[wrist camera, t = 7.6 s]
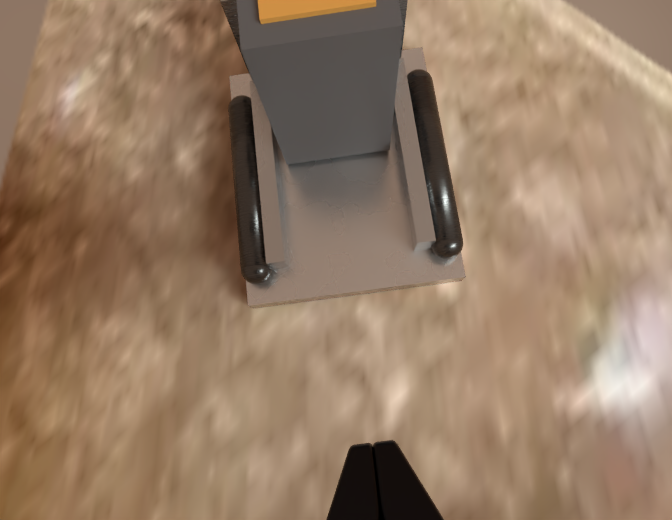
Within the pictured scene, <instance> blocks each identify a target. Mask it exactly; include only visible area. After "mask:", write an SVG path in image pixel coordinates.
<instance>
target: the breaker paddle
mask: <svg viewBox="0 0 672 520" xmlns="http://www.w3.org/2000/svg"><path fill="white" fill-rule="evenodd" d="M236 1H237V12H238V23H239V35H240V46H241V52H242V54H243V57H244V59H245V62H246V64H247V67H248V69H249V72H250V74H251V77H252V79H253V82H254V84H255V87H256V89H257V92H258V94H259V97H260V99H261V102H262V104H263V107H264V109H265V112H266V114H267V117H268V119H269V122H270V124H271V127H272V129H273V132H274V134H275V137H276V139H277V142H278V144H279V147H280V149H281V152H282V154H283V157H284V159H285V162H286V164H294V163H301V162H308V161H315V160H322V159H329V158H337V157H344V156H351V155H358V154H365V153H372V152H379V151H386V150H390V143H391V133H392V124H393V114H394V105H395V95H396V86H397V76H398V67H399V57H400V48H401V38H402V29H403V24H402V18H401V12H400V7H399V1H398V0H236Z"/></svg>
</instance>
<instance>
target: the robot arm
mask: <svg viewBox="0 0 672 520" xmlns="http://www.w3.org/2000/svg"><path fill="white" fill-rule="evenodd" d="M373 450H374V451H373ZM327 520H444V519H443V517H442V516H441V514H440V513H439V511H438V509H437V508H436V506H435V504H434V503H433V501H432V500H431V498H430V496H429V495H428V493H427V492H426V490H425V488H424V487H423V485H422V483H421V482H420V480H419V479H418V477H417V475H416V474H415V472H414V470H413V469H412V467H411V466H410V464H409V462H408V461H407V459H406V457H405V456H404V454H403V453H402V451H401V449H400V448H399V446H398V445H397V443H396V442H395V441H393V440H389V441H381V442H375V443H374V445H373V446H372V444H370V443H365V444H357V445H352V446H351V447H350V449H349V451H348V454H347V457H346V460H345V463H344V466H343V470H342V473H341V476H340V479H339V482H338V485H337V488H336V491H335V495H334V498H333V501H332V504H331V507H330V510H329V513H328V516H327Z"/></svg>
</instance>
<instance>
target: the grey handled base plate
mask: <svg viewBox="0 0 672 520" xmlns="http://www.w3.org/2000/svg"><path fill="white" fill-rule="evenodd" d="M398 1H399V7H400V12H401V18H402V24H403V29H402V38H401V48H400V57H399V67H398V76H397V86H396V95H395V105H394V114H393V124H392V133H391V143H390V150H386V151H379V152H372V153H365V154H358V155H351V156H344V157H337V158H329V159H322V160H315V161H308V162H301V163H294V164H286V162H285V159H284V157H283V154H282V152H281V149H280V147H279V144H278V142H277V139H276V137H275V134H274V132H273V129H272V127H271V124H270V122H269V119H268V117H267V114H266V112H265V109H264V107H263V104H262V102H261V99H260V97H259V94H258V92H257V89H256V87H255V84H254V82H253V79H252V77H251V74H250V72H249V73H246V74H240V75H233V76H229V78H230V90H231V102H230V104H229V108H228V112H229V125H230V137H231V150H232V163H233V175H234V188H235V201H236V213H237V226H238V239H239V251H240V264H241V273H242V276H243V277H244V279H245V280H246V288H247V300H248V306H250V307H252V308H259V307H267V306H274V305H282V304H290V303H297V302H305V301H312V300H320V299H328V298H335V297H343V296H350V295H358V294H366V293H373V292H381V291H388V290H396V289H404V288H411V287H419V286H426V285H434V284H442V283H449V282H457V281H462V280H463V279H464V278H465V277H466V276H465V271H464V266H463V260H462V255H461V250H462V247H463V238H462V233H461V228H460V222H459V217H458V212H457V207H456V201H455V196H454V191H453V186H452V180H451V175H450V170H449V165H448V159H447V154H446V149H445V144H444V138H443V133H442V128H441V123H440V117H439V112H438V107H437V102H436V96H435V91H434V86H433V81H432V77H431V76H430V74H429V73H428V72H427V69H426V64H425V59H424V53H423V48H422V47H420V48H414V49H407V50H402V45H403V36H404V27H405V18H406V9H407V0H398ZM220 2H221V4H222V7H223V9H224V12H225V14H226V17H227V19H228V22H229V24H230V27H231V29H232V32H233V34H234V37H235V39H236V42H237V44H238V47H239V49H240V52H241V46H240V35H239V23H238V12H237V1H236V0H220ZM241 54H242V52H241ZM242 57H243V54H242ZM243 59H244V57H243ZM244 62H245V59H244ZM245 64H246V62H245ZM246 67H247V64H246ZM247 69H248V67H247ZM248 71H249V69H248Z"/></svg>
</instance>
